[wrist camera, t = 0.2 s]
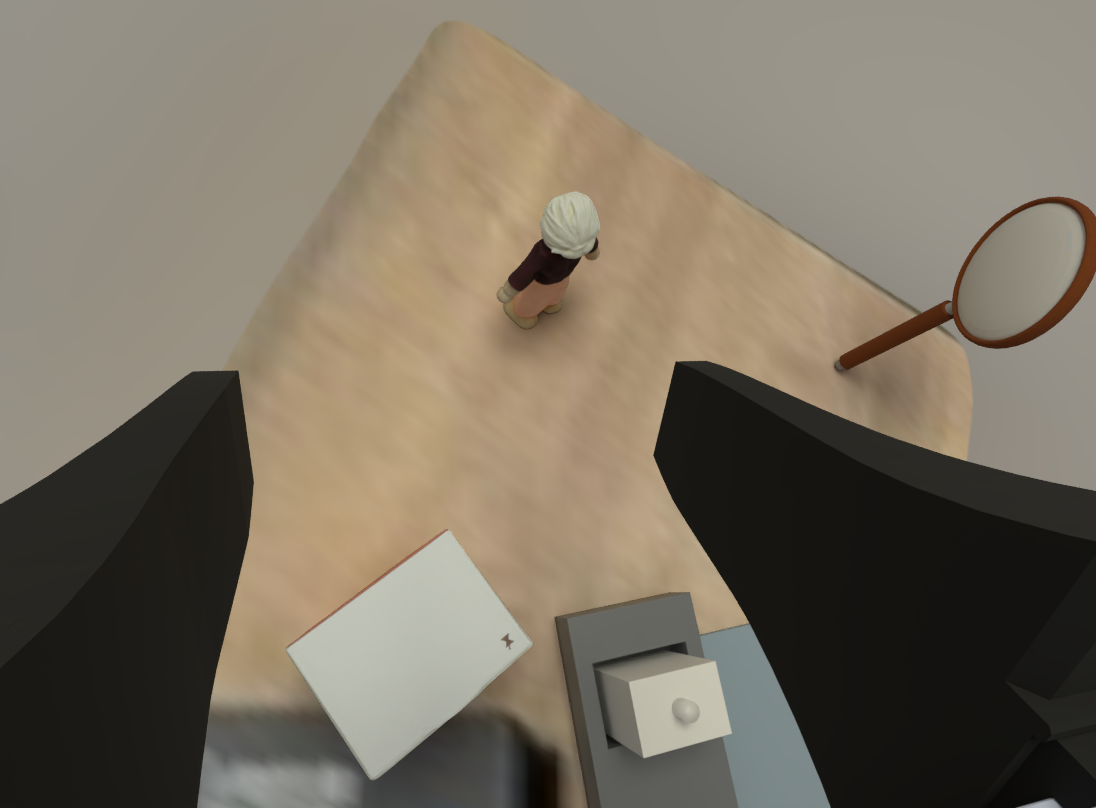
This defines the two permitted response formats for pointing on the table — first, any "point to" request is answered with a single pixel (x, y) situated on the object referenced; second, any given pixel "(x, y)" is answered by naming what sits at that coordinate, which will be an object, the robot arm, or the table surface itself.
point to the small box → (408, 652)
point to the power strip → (607, 765)
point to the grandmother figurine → (552, 259)
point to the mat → (761, 727)
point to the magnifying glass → (1010, 280)
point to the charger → (661, 701)
